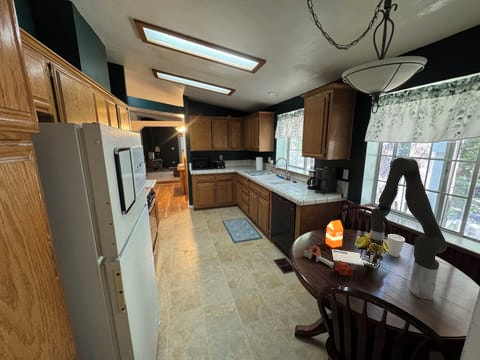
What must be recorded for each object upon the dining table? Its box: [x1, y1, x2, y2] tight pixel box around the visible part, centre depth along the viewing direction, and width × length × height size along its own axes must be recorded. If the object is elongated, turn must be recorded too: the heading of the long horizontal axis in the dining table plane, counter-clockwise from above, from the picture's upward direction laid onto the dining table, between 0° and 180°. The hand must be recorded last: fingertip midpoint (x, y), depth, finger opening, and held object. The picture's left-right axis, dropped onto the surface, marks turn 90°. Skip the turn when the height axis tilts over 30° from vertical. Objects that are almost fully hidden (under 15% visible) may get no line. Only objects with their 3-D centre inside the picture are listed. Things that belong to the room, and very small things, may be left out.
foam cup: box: [387, 233, 406, 258], centre depth 139 cm, size 10×9×13 cm
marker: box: [369, 254, 377, 265], centre depth 128 cm, size 4×4×12 cm
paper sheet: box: [331, 248, 365, 267], centre depth 137 cm, size 14×18×1 cm
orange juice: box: [325, 219, 344, 249], centre depth 152 cm, size 8×9×20 cm
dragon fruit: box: [333, 260, 356, 277], centre depth 120 cm, size 8×8×12 cm
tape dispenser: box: [303, 244, 335, 269], centre depth 136 cm, size 18×5×20 cm
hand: (373, 260), depth 129 cm, fingers open, 4 cm apart
